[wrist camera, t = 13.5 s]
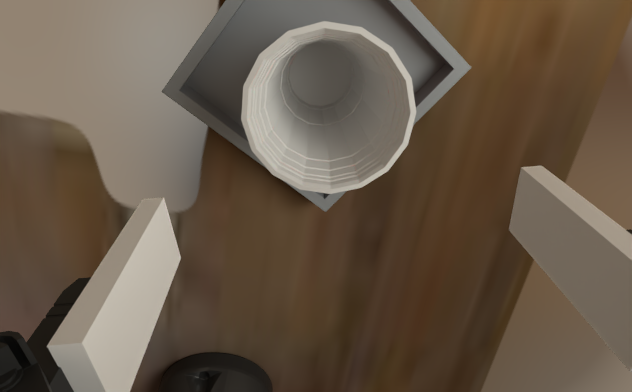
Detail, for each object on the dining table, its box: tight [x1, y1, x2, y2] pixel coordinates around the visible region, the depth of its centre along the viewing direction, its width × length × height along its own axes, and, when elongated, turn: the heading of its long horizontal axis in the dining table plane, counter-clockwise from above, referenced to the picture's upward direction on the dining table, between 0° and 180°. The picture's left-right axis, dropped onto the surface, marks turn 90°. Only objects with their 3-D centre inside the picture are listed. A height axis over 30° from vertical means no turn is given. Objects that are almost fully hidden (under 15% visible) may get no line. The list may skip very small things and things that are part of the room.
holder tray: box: [162, 0, 471, 212], centre depth 35 cm, size 18×18×3 cm
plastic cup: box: [241, 21, 416, 194], centre depth 30 cm, size 11×11×12 cm
